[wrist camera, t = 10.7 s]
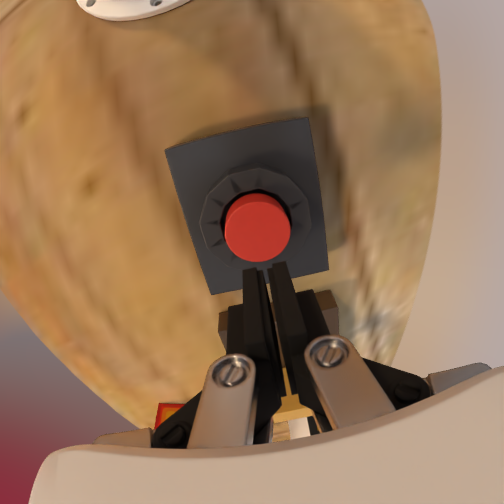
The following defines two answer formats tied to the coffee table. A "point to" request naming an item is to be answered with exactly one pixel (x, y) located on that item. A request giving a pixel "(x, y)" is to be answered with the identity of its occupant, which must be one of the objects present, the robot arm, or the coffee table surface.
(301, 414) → the orange block red tip
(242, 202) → the door button
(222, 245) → the box
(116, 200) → the coffee table surface
